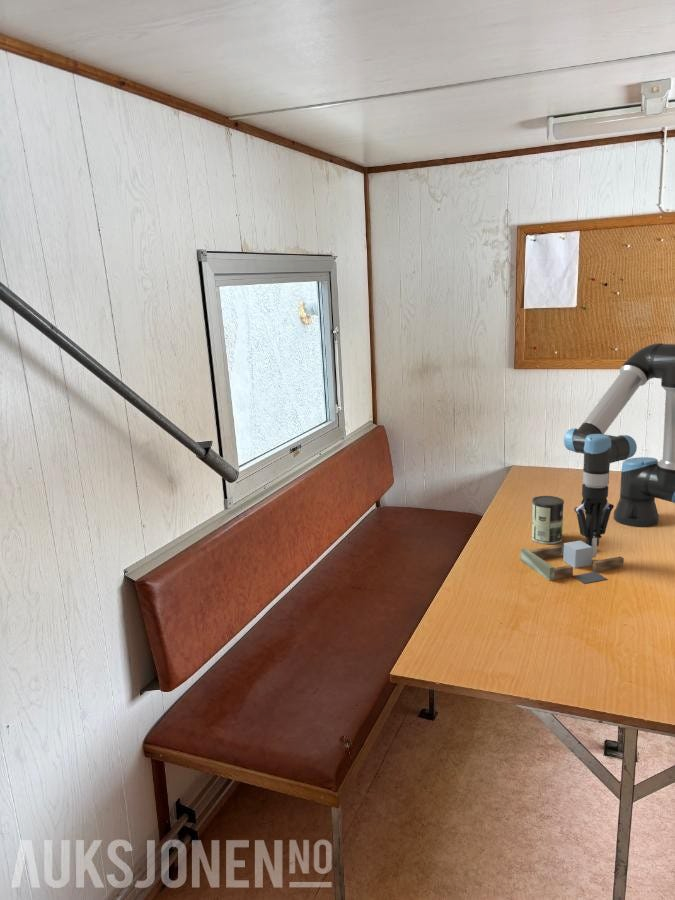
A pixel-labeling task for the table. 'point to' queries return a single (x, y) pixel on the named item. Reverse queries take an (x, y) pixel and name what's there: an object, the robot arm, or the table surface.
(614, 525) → the table surface
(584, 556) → the block
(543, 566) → the lane
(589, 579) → the mat
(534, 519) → the coffee can
